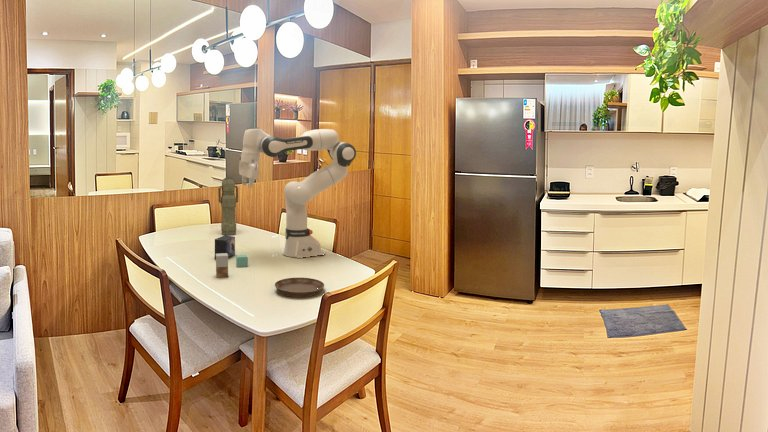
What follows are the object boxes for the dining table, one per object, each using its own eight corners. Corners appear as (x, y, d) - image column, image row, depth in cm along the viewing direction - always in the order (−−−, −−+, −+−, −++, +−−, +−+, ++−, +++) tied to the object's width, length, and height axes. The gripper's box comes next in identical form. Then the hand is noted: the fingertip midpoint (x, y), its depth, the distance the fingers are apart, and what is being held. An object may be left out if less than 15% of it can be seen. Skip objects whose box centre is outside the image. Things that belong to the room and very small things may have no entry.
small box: (225, 260, 261) (225, 240, 260) (214, 259, 263) (213, 239, 261) (235, 255, 271) (235, 236, 270) (224, 254, 273) (224, 235, 271)
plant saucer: (326, 284, 228) (326, 277, 228) (322, 300, 208) (322, 292, 208) (279, 283, 228) (279, 276, 227) (270, 298, 207) (270, 290, 207)
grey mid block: (227, 263, 237) (227, 253, 236) (228, 266, 232) (227, 255, 231) (215, 264, 235) (215, 253, 234) (216, 267, 231) (216, 256, 230)
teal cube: (246, 264, 256) (246, 254, 255) (247, 266, 251) (247, 256, 250) (236, 264, 254) (236, 254, 253) (237, 267, 250) (236, 257, 249)
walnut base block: (227, 274, 238) (227, 263, 237) (228, 277, 233) (228, 266, 232) (216, 274, 236) (216, 264, 235) (216, 277, 231) (216, 267, 231)
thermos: (216, 233, 322) (215, 177, 316) (234, 232, 329) (234, 177, 324) (222, 236, 315) (221, 179, 309) (240, 234, 323) (240, 178, 317)
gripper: (263, 161, 254) (259, 189, 256) (249, 158, 271) (246, 184, 273) (250, 160, 251) (247, 188, 253) (237, 156, 268) (235, 183, 270)
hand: (247, 186), depth 263 cm, fingers open, 8 cm apart
